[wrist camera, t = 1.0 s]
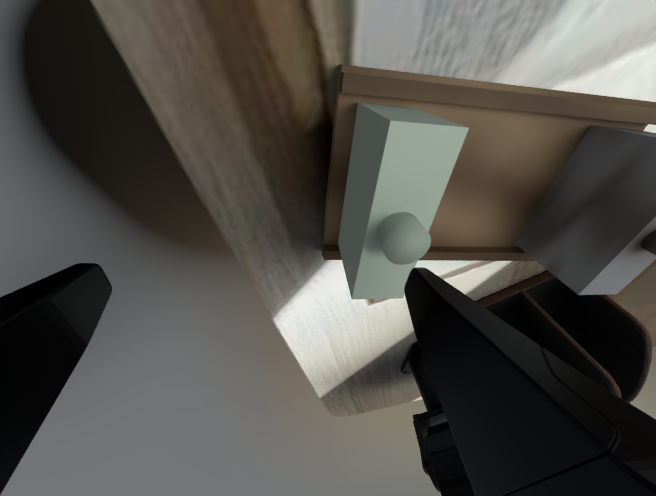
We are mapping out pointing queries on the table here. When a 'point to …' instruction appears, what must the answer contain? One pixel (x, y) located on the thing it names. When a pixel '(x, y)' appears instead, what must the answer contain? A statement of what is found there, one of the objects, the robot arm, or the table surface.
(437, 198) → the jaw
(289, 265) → the table surface
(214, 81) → the table surface
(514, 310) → the letter holder
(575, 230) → the brown boxy piece
